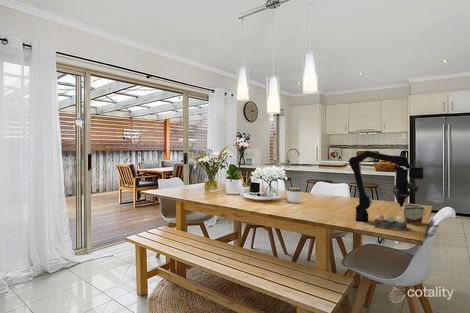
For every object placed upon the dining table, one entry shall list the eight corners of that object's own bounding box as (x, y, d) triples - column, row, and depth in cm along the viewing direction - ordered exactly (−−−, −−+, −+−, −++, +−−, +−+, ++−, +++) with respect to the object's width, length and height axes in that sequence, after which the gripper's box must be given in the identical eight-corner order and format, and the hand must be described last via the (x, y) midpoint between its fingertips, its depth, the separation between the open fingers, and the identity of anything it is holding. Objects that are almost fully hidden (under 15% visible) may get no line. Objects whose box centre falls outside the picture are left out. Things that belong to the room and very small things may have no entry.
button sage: (386, 222, 155) (386, 216, 155) (385, 220, 159) (386, 215, 159) (394, 223, 154) (394, 217, 154) (393, 221, 157) (393, 216, 157)
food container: (417, 220, 170) (417, 204, 170) (424, 223, 164) (424, 206, 164) (397, 220, 170) (397, 204, 169) (403, 223, 164) (404, 206, 163)
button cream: (396, 223, 153) (396, 217, 153) (395, 221, 157) (395, 216, 157) (404, 224, 152) (404, 218, 152) (403, 222, 155) (403, 216, 155)
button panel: (375, 227, 155) (375, 222, 155) (374, 223, 164) (374, 218, 163) (407, 230, 149) (407, 225, 149) (404, 226, 157) (404, 221, 157)
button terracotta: (376, 221, 157) (376, 216, 157) (376, 220, 161) (376, 214, 161) (384, 222, 156) (384, 216, 156) (383, 220, 159) (383, 215, 159)
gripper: (421, 181, 147) (420, 210, 147) (414, 177, 164) (413, 203, 165) (397, 179, 151) (396, 207, 152) (393, 175, 168) (391, 201, 169)
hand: (400, 205), depth 159 cm, fingers open, 9 cm apart
